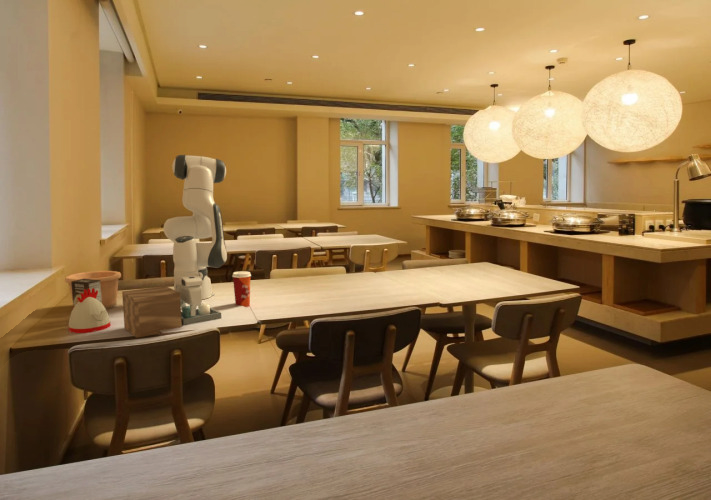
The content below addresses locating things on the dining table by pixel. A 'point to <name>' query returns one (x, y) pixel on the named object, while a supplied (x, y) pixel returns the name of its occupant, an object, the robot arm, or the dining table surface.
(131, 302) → the wood grain block
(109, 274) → the pottery
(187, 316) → the teal short cylinder
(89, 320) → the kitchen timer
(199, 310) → the cream rounded cylinder
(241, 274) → the coffee cup
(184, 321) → the tray
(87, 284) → the coffee box
